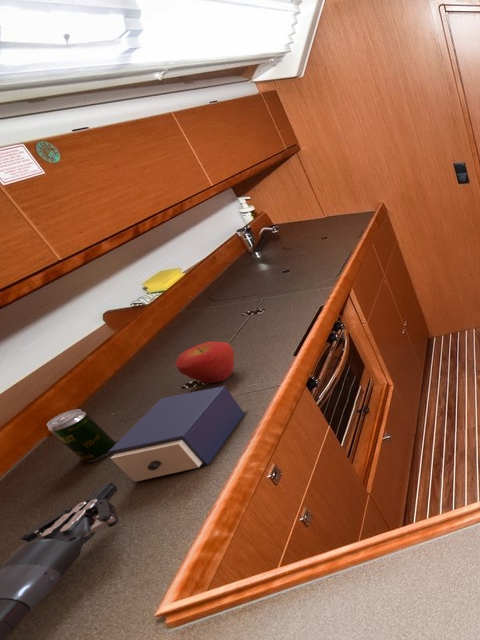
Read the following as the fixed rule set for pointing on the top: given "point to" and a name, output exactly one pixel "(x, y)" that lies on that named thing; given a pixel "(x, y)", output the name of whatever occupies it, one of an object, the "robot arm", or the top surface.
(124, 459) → the drawer
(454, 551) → the top surface
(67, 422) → the beer can
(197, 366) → the apple
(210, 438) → the cabinet
